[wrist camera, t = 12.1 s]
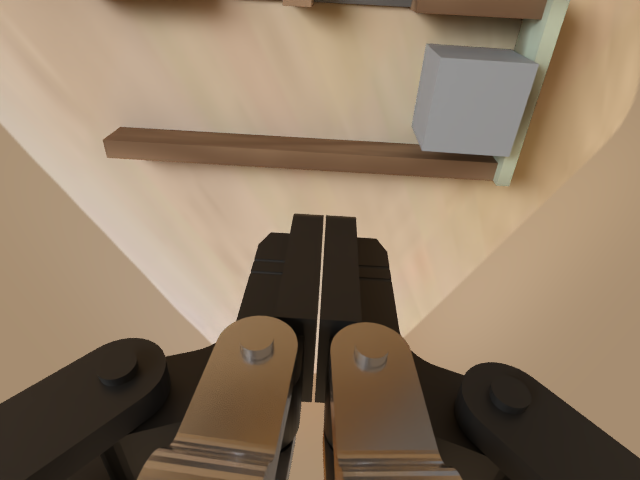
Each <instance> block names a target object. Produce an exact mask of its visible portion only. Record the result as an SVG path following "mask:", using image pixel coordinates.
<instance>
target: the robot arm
mask: <svg viewBox="0 0 640 480" xmlns="http://www.w3.org/2000/svg"><path fill="white" fill-rule="evenodd" d="M323 217H324V215H309V214H294V216H293V221H292V226H291V231H290V234H288V233H272V232H271V233H270V234H269V235H268V236H267V237H266V238H265V239H264V240H263V241H262V242H261V243H260V244H259V245H258V249H257V252H256V255H255V261H254V262H253V266H252V269H251V274H250V276H249V279H248V283H247V286H246V290H245V293H244V296H243V300H242V303H241V307H240V310H239V313H238V317H237V320H236V322H234V323H232V324H231V325H229V326H228V327H227V328H226V329H224V331H223V332H222V333H221V334H220V336H219V338H218V340H217V342H216V343H215V344H213V345H211V346H209V347H206V348H203V349H200V350H196V351H192V352H187V353H182V354H177V355H172V356H167V357H165V355H164V353H163V351H162V349H161V348H160V347H159V346H158V345H156V344H155V343H153V342H151V341H149V340H145V339H140V338H127V339H121V340H117V341H113V342H111V343H108V344H105V345H103V346H101V347H99V348H97V349H96V350H94V351H92V352H90V353H88V354H87V355H85V356H83V357H82V358H80V359H78V360H76V361H74V362H73V363H71V364H69V365H67V366H66V367H64V368H62V369H60V370H59V371H57V372H55V373H53V374H52V375H50V376H48V377H46V378H45V379H43V380H42V381H39V382H38V383H36V384H34V385H32V386H31V387H29V388H27V389H25V390H24V391H22V392H20V393H18V394H17V395H15V396H13V397H11V398H10V399H8V400H6V401H4V402H3V403H1V404H0V480H288V479H289V474H290V469H291V463H292V457H293V452H294V446H295V440H296V433H297V431H298V428H299V423H300V422H299V421H300V411H301V402H312V387H313V374H314V359H315V344H316V330H317V315H318V301H319V286H320V270H321V252H322V235H323ZM315 402H320V403H325V410H324V430H323V466H324V467H323V468H324V480H640V458H639V457H637V456H636V455H635V454H633V453H632V452H631V451H629V450H628V449H627V448H625V447H624V446H623V445H621V444H620V443H619V442H617V441H616V440H615V439H613V438H612V437H611V436H609V435H608V434H607V433H605V432H604V431H603V430H601V429H600V428H599V427H597V426H596V425H595V424H593V423H592V422H591V421H590V420H588V419H587V418H586V417H584V416H583V415H581V414H580V413H579V412H578V411H576V410H575V409H574V408H572V407H571V406H570V405H568V404H567V403H566V402H564V401H563V400H562V399H560V398H559V397H558V396H556V395H555V394H554V393H552V392H551V391H550V390H548V389H547V388H546V387H544V386H543V385H542V384H540V383H539V382H538V381H537V380H535V379H534V378H533V377H531V376H530V375H528V374H526V373H525V372H523V371H521V370H519V369H517V368H515V367H512V366H509V365H506V364H502V363H494V362H491V363H490V362H488V363H481V364H478V365H475V366H474V367H472V368H470V369H469V370H468V371H467V372H466V374H465V375H461V374H459V373H456V372H453V371H449V370H446V369H444V368H440V367H438V366H435V365H432V364H430V363H428V362H426V361H424V360H423V359H421V358H420V357H418V356H417V355H416V354H414V353H413V352H412V351H411V350H410V347H409V345H408V344H407V342H406V341H405V340H404V338H403V337H402V336H401V335H400V331H399V325H398V319H397V313H396V306H395V300H394V293H393V287H392V282H391V274H390V270H389V261H388V255H387V251H386V250H385V249H384V248H383V246H382V245H381V244H380V243H379V241H378V240H377V239H372V238H357V228H356V217H344V216H328V215H326V228H325V244H324V260H323V277H322V293H321V310H320V326H319V342H318V359H317V376H316V392H315Z"/></svg>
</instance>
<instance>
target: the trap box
mask: <svg viewBox="0 0 640 480" xmlns="http://www.w3.org/2000/svg"><path fill="white" fill-rule="evenodd" d="M314 2H327V3H346V4H364V5H383V6H401V7H410V9H411V10H413V11H414V12H416V13H428V14H447V15H465V16H484V17H502V18H520V19H523V20H522V24H521V27H520V31H519V35H518V38H517V42H516V45H515V49H514V51H515V52H517V53H519V54H521V55H522V56H524V57H526V58H528V59H530V60H532V61H534V62H536V63H538V64H539V67H538V70H537V73H536V76H535V79H534V82H533V85H532V88H531V91H530V94H529V97H528V100H527V103H526V106H525V110H524V113H523V116H522V119H521V122H520V125H519V128H518V131H517V134H516V137H515V140H514V143H513V146H512V149H511V153H510V156H509V157H503V156H489V155H475V154H460V153H446V152H432V151H422V150H421V147H420V145H418V144H401V143H384V142H366V141H349V140H332V139H315V138H298V137H281V136H264V135H247V134H230V133H213V132H196V131H179V130H161V129H144V128H127V127H120V128H118V129H117V130H116V131H114V132H113V133H112V134H110V135H109V136H107V137H106V138H105V139H103V143H104V147H105V151H106V155H107V158H120V159H137V160H154V161H170V162H187V163H204V164H221V165H238V166H254V167H271V168H288V169H305V170H322V171H338V172H355V173H372V174H389V175H406V176H422V177H439V178H456V179H473V180H489V181H494V183H495V184H496V186H509V185H510V182H511V179H512V176H513V173H514V170H515V167H516V164H517V161H518V158H519V155H520V151H521V148H522V145H523V142H524V139H525V136H526V133H527V130H528V127H529V124H530V121H531V118H532V115H533V112H534V109H535V106H536V103H537V100H538V96H539V93H540V90H541V87H542V84H543V81H544V78H545V75H546V72H547V69H548V66H549V63H550V60H551V57H552V54H553V51H554V48H555V45H556V42H557V38H558V35H559V32H560V29H561V26H562V23H563V20H564V17H565V14H566V11H567V8H568V5H569V2H570V0H283V6H300V7H312V5H313V4H314Z"/></svg>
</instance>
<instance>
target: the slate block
mask: <svg viewBox="0 0 640 480" xmlns="http://www.w3.org/2000/svg"><path fill="white" fill-rule="evenodd" d="M538 67H539V64H538V63H536V62H534V61H532V60H530V59H528V58H526V57H524V56H522V55H521V54H519V53H517V52H515V51H513V50H511V49H499V48H484V47H469V46H454V45H439V44H426V49H425V54H424V60H423V66H422V71H421V77H420V82H419V88H418V93H417V99H416V105H415V110H414V116H413V121H412V128H413V130H414V133H415V135H416V138H417V140H418V142H419V145H420V147H421V150H422V151H432V152H446V153H460V154H475V155H489V156H503V157H509V156H510V153H511V149H512V146H513V143H514V140H515V137H516V134H517V131H518V128H519V125H520V122H521V119H522V116H523V113H524V110H525V106H526V103H527V100H528V97H529V94H530V91H531V88H532V85H533V82H534V79H535V76H536V73H537V70H538Z"/></svg>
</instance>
